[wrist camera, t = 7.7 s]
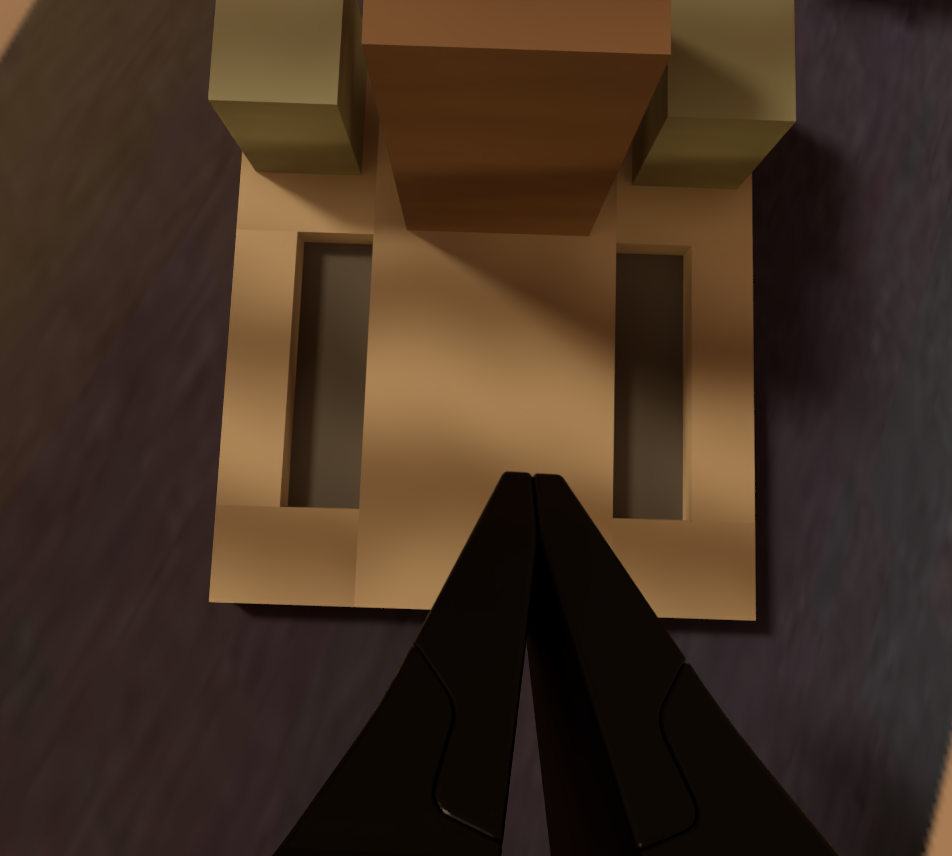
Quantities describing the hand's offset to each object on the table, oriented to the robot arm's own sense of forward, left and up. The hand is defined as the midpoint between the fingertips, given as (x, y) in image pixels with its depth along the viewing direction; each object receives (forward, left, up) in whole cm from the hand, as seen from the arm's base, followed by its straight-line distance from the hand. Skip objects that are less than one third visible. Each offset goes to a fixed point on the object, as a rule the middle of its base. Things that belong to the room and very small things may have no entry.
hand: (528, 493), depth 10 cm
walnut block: (+11, 0, -11) cm, 16 cm away
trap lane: (+6, 0, -12) cm, 14 cm away
